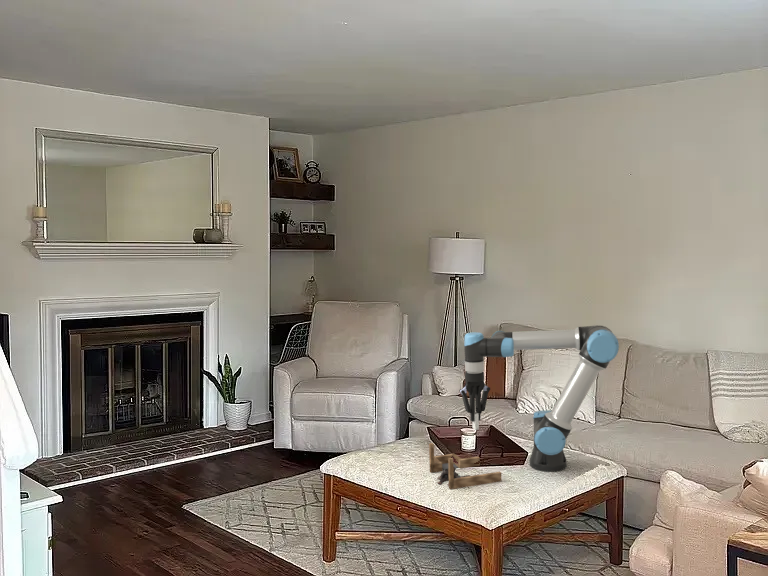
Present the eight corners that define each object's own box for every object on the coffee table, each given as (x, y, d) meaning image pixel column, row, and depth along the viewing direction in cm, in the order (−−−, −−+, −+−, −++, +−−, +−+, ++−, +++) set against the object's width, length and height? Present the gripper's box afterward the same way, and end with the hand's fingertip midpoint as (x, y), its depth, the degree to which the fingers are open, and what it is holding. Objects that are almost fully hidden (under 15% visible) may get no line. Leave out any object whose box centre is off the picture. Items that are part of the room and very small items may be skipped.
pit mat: (452, 463, 328) (452, 462, 328) (458, 467, 322) (458, 467, 322) (436, 465, 326) (436, 464, 325) (442, 470, 319) (442, 469, 319)
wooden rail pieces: (470, 459, 332) (470, 431, 331) (501, 481, 306) (501, 451, 304) (422, 466, 325) (422, 438, 324) (450, 489, 298) (449, 459, 297)
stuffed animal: (429, 481, 306) (442, 457, 313) (437, 496, 311) (450, 472, 318) (454, 486, 299) (467, 462, 306) (463, 502, 304) (475, 477, 311)
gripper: (485, 367, 314) (486, 424, 317) (455, 371, 310) (456, 428, 313) (493, 371, 307) (494, 429, 310) (463, 374, 303) (464, 433, 306)
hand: (475, 428), depth 311 cm, fingers closed
